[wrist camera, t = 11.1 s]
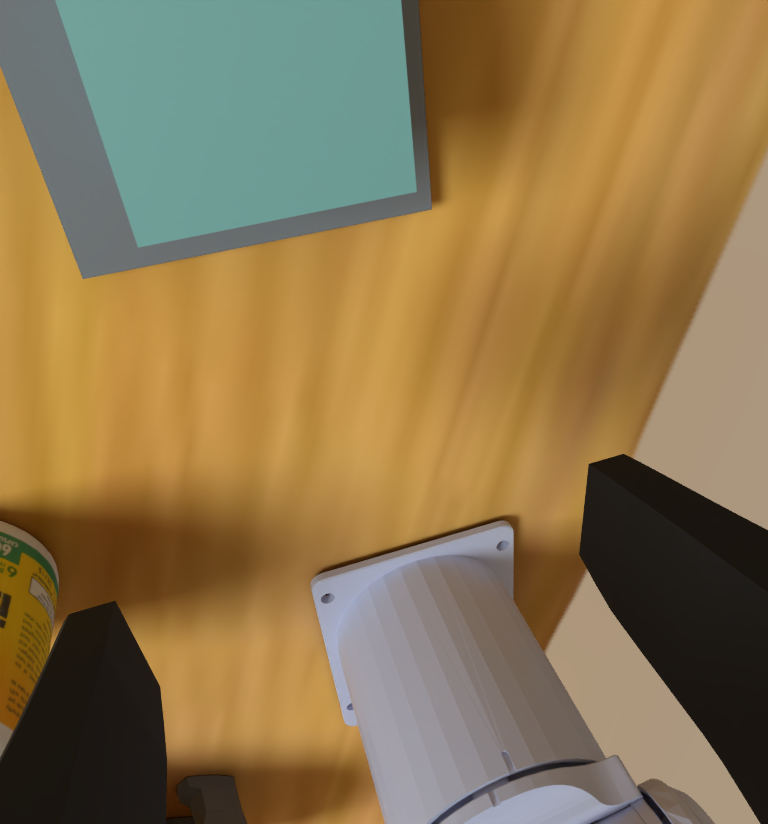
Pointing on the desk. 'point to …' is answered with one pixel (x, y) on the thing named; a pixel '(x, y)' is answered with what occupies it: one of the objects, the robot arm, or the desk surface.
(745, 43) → the desk surface
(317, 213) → the slate mat
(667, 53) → the desk surface
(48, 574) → the supplement bottle
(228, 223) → the teal cube
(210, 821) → the giant panda
